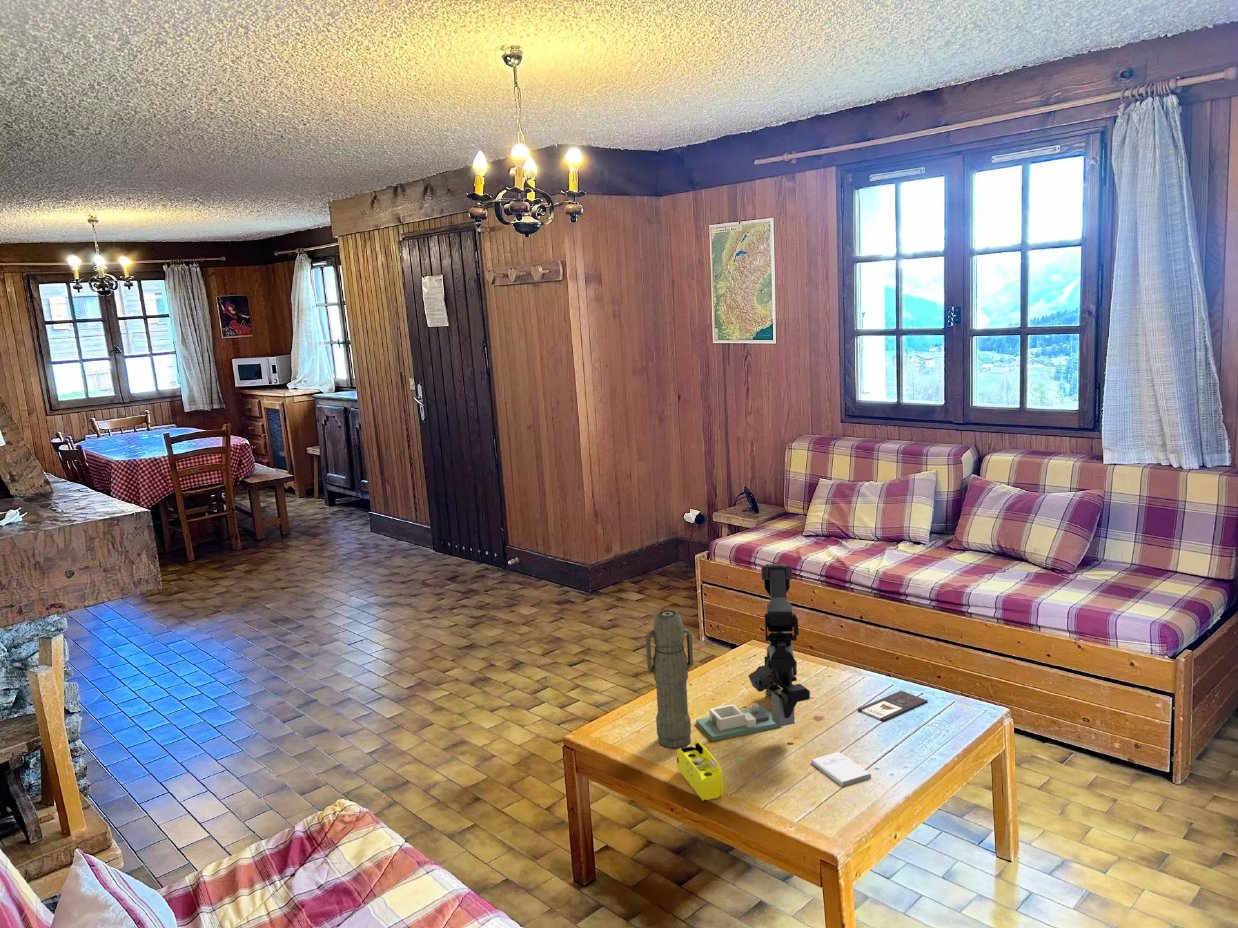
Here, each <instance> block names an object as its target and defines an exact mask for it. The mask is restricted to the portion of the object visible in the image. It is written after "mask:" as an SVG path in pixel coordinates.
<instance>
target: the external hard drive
mask: <svg viewBox="0 0 1238 928" xmlns="http://www.w3.org/2000/svg"><path fill="white" fill-rule="evenodd" d="M810 761H811V764H812V766H814V767H816V768H817V769H818V770H819V771H821V772H822V773H824V774H825V775H826V776H827V777H829V778H830V779H832V781H834V782H836V783H837V784H838V785H839V786H841V787H845V786H849V785H851V784H855V783H858V782H861V781H865V780H868V779H871V778H872V775H871V774H872V773H870V772H868V771H867V770H865V769H864V768H863V767H861V766H860V765H858V764H857V763H855V762H854V761H853V760H851V759H849V758H848V757H847V756H845V755H844V754H842V753H841V752H839V751H837V752H833V753H830V754H827V755H826V754H825V755H823V756H822V755H821V756H820V757H816V758H812V759H811V760H810Z"/></svg>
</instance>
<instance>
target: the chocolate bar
mask: <svg viewBox="0 0 1238 928" xmlns="http://www.w3.org/2000/svg"><path fill="white" fill-rule="evenodd" d="M927 703H928V700H926V699H925V698H923V697H922V698H921V697H919V696H916V695H914V694H911V693H908V692H906V691H904V690H899V691H897V692H894V693H893V694H890V695H888V696H885V697H883V698H881V699H878V700H876V701H873V702H871V703H868V704H865V705H864V706H862V707H859V708H857V711H858V712H860V713H862V714H865V715H867V716H870V717H872V718H875V719H876V720H880V721H882V722H884V723H885V722H886V721H889V720H891V719H894V718H896V717H898V716H901V715H902V714H905V713H907V712H909V711H911V710H913V708H914V709H916V708H918V707H921V706H923V705H925V704H927ZM920 705H921V706H920Z"/></svg>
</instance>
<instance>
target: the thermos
mask: <svg viewBox="0 0 1238 928" xmlns="http://www.w3.org/2000/svg"><path fill="white" fill-rule="evenodd" d="M652 625H653V629H652V630H651V631H649V632H648V633H647V634H646V637H645V650H646V664H647V671H648V673H652V674H653V679H654V681H655V686H656V700H657V701H656V703H657V705H656V707H657V714H656V717H655V722H656V735H657V743H658V745H659V746H660V747H661V748H663V749H668V750H678V749H682V748H687V747H689V745H691V742H692V739H691V734H692V725H691V724H692V723H691V722H692V721H691V717H690V714H689V708H688V706H689V705H688V687H687V680H688V678H689V673H688V672H689V669H691V667H692V666H693V665H694V657H693V656H694V655H693V636H692V633H691V632H690V630H689V629H688V628H686V627H684V624H683V621H682V618H681V615H680V613H679V612H677V611H675V610H671V609H670V610H661V611H660V612H657V613H656V614H655V617H654V620H653V624H652ZM685 634H686V644H687V646H686V647H687V648H686V649H687V654H686V651H685V646H684V643H685V639H684V638H685V637H684V635H685ZM651 638H653V639H654V641H653V642H654V645H655V646H654V652H653V653H654V654H653V658H652V648H651Z"/></svg>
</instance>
